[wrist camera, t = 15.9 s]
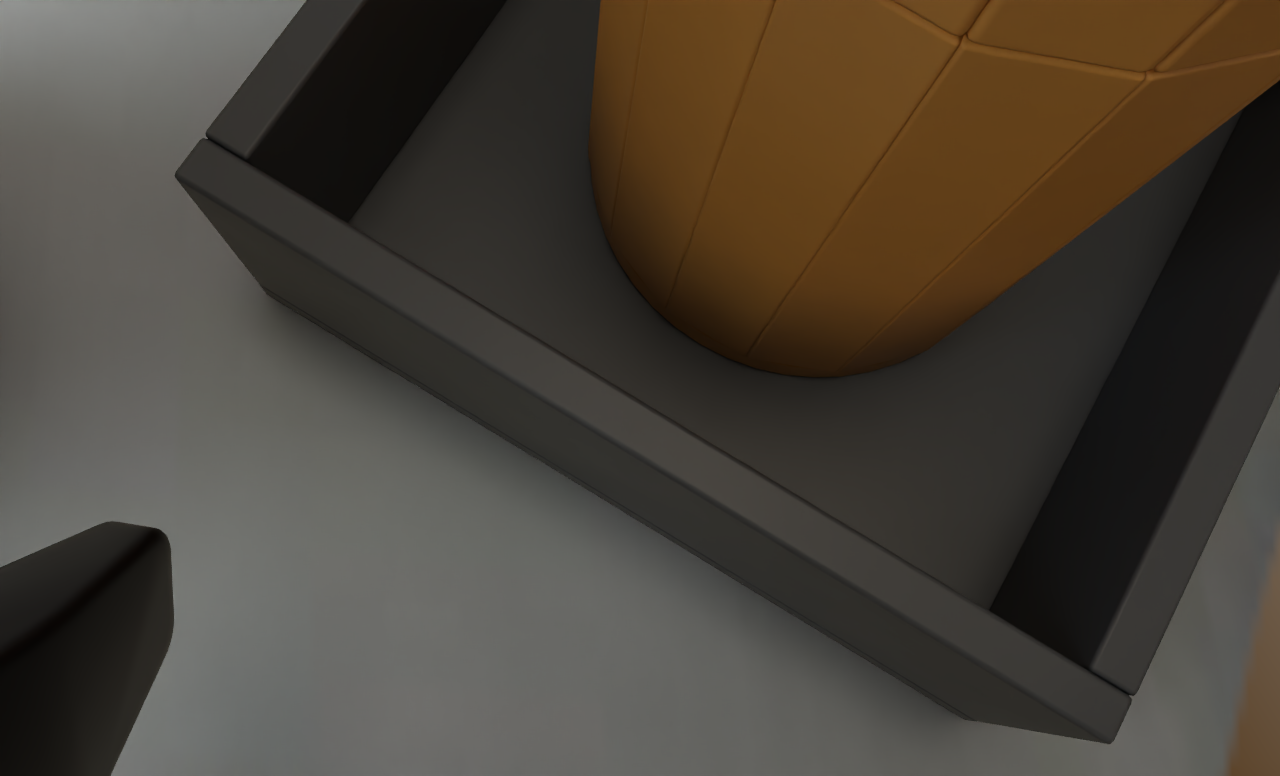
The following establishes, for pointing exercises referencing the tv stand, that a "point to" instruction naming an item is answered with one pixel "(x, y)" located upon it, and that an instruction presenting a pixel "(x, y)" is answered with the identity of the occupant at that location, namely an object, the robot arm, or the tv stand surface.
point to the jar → (888, 153)
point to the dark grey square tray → (767, 401)
